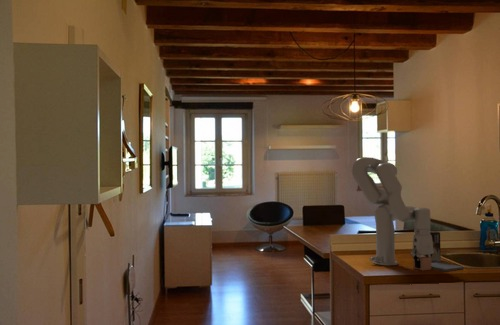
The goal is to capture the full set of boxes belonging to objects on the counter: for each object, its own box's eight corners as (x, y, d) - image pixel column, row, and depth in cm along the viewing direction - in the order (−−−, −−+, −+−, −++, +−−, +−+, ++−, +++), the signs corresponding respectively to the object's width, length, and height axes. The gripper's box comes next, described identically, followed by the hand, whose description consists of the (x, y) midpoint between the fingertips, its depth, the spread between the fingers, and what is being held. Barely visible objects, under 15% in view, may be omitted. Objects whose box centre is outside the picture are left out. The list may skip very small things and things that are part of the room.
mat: (444, 271, 217) (444, 269, 217) (422, 265, 230) (422, 264, 230) (463, 268, 224) (463, 266, 224) (440, 263, 236) (440, 261, 236)
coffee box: (440, 260, 246) (440, 231, 246) (440, 262, 240) (440, 232, 240) (422, 258, 249) (422, 230, 249) (422, 261, 243) (422, 232, 243)
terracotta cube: (422, 270, 219) (422, 258, 220) (413, 268, 225) (413, 256, 225) (431, 269, 222) (431, 257, 222) (422, 266, 228) (422, 255, 228)
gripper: (415, 234, 217) (415, 270, 216) (440, 232, 224) (440, 267, 224) (404, 232, 223) (404, 267, 223) (428, 230, 231) (428, 264, 231)
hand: (422, 266), depth 223 cm, fingers closed on terracotta cube, 6 cm apart
